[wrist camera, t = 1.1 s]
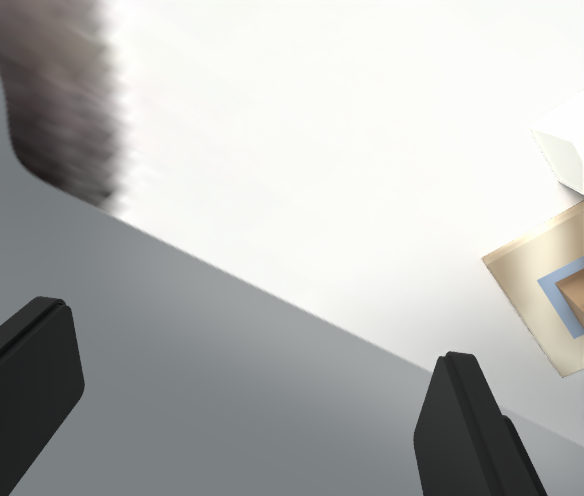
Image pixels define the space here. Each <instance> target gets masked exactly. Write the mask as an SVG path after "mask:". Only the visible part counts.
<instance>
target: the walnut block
mask: <svg viewBox="0 0 584 496" xmlns="http://www.w3.org/2000/svg"><path fill="white" fill-rule="evenodd" d="M555 284H556V286H557V288H558V289H559V291H560V293H561V294H562V296H563V297H564V299H565V301H566V302H567V304H568V305H569V307H570V309H571V310H572V312H573V314H574V315H575V317H576V318H577V320H578V322H579V323H580V325H581V326H582V327H583V328H584V268H583V269H581V270H579V271H577V272H575V273H574V274H572V275H570V276H568V277H566V278H564V279H562V280H560V281H558V282H556V283H555Z"/></svg>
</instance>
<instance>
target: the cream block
mask: <svg viewBox="0 0 584 496" xmlns="http://www.w3.org/2000/svg"><path fill="white" fill-rule="evenodd" d="M528 128H529V130H530V132H531V134H532V135H533V137H534V139H535V141H536V143H537V144H538V146H539V148H540V150H541V152H542V153H543V155H544V157H545V159H546V160H547V162H548V164H549V166H550V168H551V169H552V171H553V173H554V175H555V177H556V178H557V180H558V181H559V182H561V183H562V184H564V185H566V186H568V187H570V188H572V189H574V190H575V191H577V192H579V193H581V194H583V195H584V90H583V91H581V92H580V93H578V94H577V95H575V96H574V97H572V98H570V99H569V100H567V101H566V102H564V103H563V104H561V105H560V106H558V107H557V108H555V109H554V110H552V111H551V112H549V113H547V114H546V115H544V116H543V117H541V118H540V119H538V120H537V121H535V122H534V123H532V124H531V125H529V126H528Z"/></svg>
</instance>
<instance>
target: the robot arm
mask: <svg viewBox="0 0 584 496" xmlns="http://www.w3.org/2000/svg"><path fill="white" fill-rule="evenodd" d="M84 386H85V384H84V378H83V373H82V367H81V361H80V355H79V350H78V345H77V339H76V333H75V328H74V322H73V317H72V312H71V308H70V307H69V306H66V303H65V302H64V301H63V300H62V299H56V298H48V297H41V296H40V297H36V298H34V299H33V300H31V301H30V302H29V303H28V304H27V305H25V306H24V307H23V308H22V309H20V310H19V311H18V312H17V313H15V314H14V315H13V316H12V317H11V318H9V319H8V320H7V321H6V322H4V323H3V324H2V325H1V326H0V496H9V494H10V493H11V492H12V490H13V489H14V487H15V486H16V485H17V483H18V482H19V481H20V479H21V478H22V477H23V475H24V474H25V473H26V471H27V470H28V469H29V467H30V466H31V465H32V463H33V462H34V460H35V459H36V458H37V456H38V455H39V454H40V452H41V451H42V450H43V448H44V447H45V445H46V444H47V443H48V442H49V440H50V439H51V438H52V436H53V435H54V433H55V432H56V431H57V429H58V428H59V427H60V425H61V424H62V423H63V421H64V420H65V419H66V417H67V416H68V415H69V413H70V412H71V410H72V409H73V408H74V406H75V405H76V404H77V402H78V401H79V400H80V398H81V396H82V394H83V391H84ZM414 450H415V455H416V459H417V465H418V470H419V474H420V480H421V485H422V490H423V495H424V496H547V493H546V491H545V489H544V487H543V485H542V483H541V481H540V479H539V477H538V475H537V473H536V470H535V468H534V466H533V464H532V462H531V460H530V458H529V456H528V454H527V452H526V449H525V448H524V446H523V443H522V441H521V439H520V437H519V435H518V433H517V431H516V429H515V427H514V425H513V423H512V422H511V420H510V419H509V418H508V417H507V416H505V415H502V414H501V412H500V410H499V407H498V405H497V403H496V401H495V399H494V396H493V394H492V392H491V390H490V388H489V385H488V383H487V381H486V379H485V377H484V375H483V372H482V370H481V368H480V366H479V364H478V361H477V359H476V358H475V356H474V355H472V354H466V353H458V352H451V351H449V352H448V353H447V354H446V356H445V357H443V356H440V357H439V358H438V360H437V363H436V366H435V369H434V372H433V375H432V378H431V381H430V385H429V388H428V391H427V394H426V397H425V401H424V403H423V406H422V410H421V413H420V416H419V419H418V422H417V425H416V428H415V432H414Z"/></svg>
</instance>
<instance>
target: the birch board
mask: <svg viewBox="0 0 584 496" xmlns="http://www.w3.org/2000/svg"><path fill="white" fill-rule="evenodd" d="M481 259H482V260H483V262H484V263H485V265H486V266H487V268H488V269H489V271H490V272H491V274H492V275H493V277H494V278H495V280H496V281H497V283H498V284H499V285H500V287H501V288H502V290H503V291H504V293H505V294H506V296H507V297H508V299H509V300H510V302H511V303H512V305H513V306H514V308H515V309H516V311H517V312H518V314H519V315H520V317H521V318H522V320H523V321H524V323H525V324H526V326H527V327H528V329H529V330H530V331H531V333H532V334H533V336H534V337H535V339H536V340H537V342H538V343H539V345H540V346H541V348H542V349H543V351H544V352H545V354H546V355H547V357H548V358H549V360H550V361H551V363H552V364H553V366H554V367H555V369H556V370H557V371H558V373H559V374H560V376H561V377H562V378H563V377H565V376H568V375H570V374H572V373H575V372H577V371H579V370H582V369H584V328H583V327H582V326H581V325H580V323H579V322H578V320H577V318H576V317H575V315H574V314H573V312H572V310H571V309H570V307H569V305H568V304H567V302H566V301H565V299H564V297H563V296H562V294H561V293H560V291H559V289H558V288H557V286H556V284H555V283H556V282H558V281H560V280H562V279H564V278H566V277H568V276H570V275H572V274H574V273H575V272H577V271H579V270H581V269H583V268H584V201H582V202H580V203H578V204H577V205H575V206H573V207H571V208H570V209H568V210H566V211H564V212H562V213H561V214H559V215H557V216H555V217H554V218H552V219H550V220H548V221H547V222H545V223H543V224H541V225H539V226H538V227H536V228H534V229H532V230H531V231H529V232H527V233H525V234H524V235H522V236H520V237H518V238H516V239H515V240H513V241H511V242H509V243H508V244H506V245H504V246H502V247H500V248H499V249H497V250H495V251H493V252H492V253H490V254H488V255H486V256H485V257H483V258H481Z"/></svg>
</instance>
